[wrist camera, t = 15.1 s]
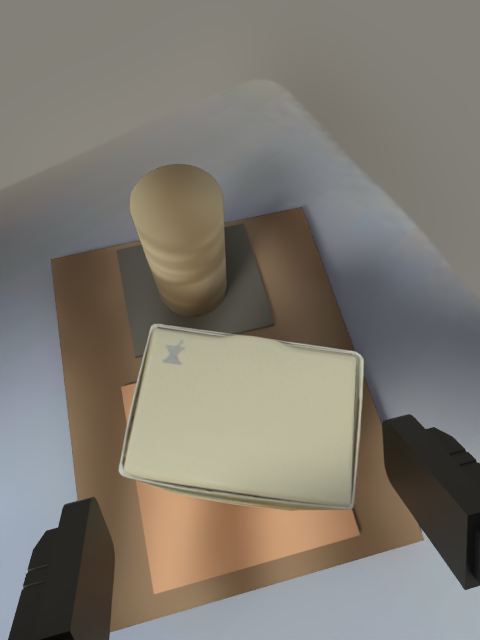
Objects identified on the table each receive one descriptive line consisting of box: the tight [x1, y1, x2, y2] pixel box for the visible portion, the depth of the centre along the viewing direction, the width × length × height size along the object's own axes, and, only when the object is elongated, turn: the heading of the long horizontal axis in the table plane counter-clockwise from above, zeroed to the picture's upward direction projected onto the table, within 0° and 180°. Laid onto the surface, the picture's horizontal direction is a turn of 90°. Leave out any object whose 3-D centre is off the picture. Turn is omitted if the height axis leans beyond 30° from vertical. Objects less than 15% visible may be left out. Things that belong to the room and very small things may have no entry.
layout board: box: [51, 164, 424, 632], centre depth 22 cm, size 16×20×9 cm
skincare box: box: [119, 324, 364, 511], centre depth 18 cm, size 6×4×12 cm
